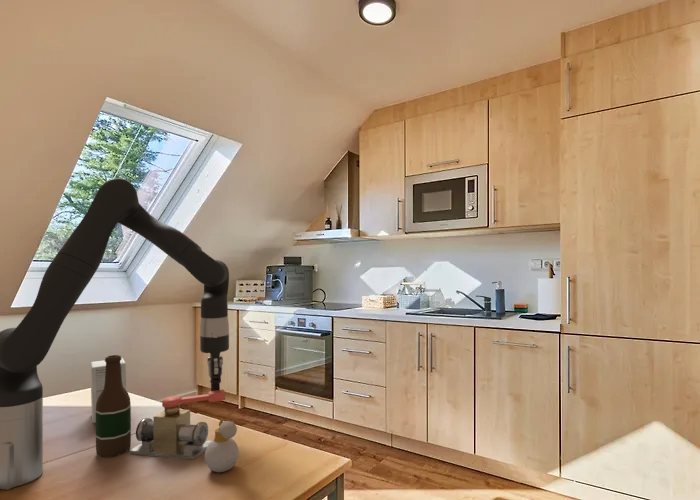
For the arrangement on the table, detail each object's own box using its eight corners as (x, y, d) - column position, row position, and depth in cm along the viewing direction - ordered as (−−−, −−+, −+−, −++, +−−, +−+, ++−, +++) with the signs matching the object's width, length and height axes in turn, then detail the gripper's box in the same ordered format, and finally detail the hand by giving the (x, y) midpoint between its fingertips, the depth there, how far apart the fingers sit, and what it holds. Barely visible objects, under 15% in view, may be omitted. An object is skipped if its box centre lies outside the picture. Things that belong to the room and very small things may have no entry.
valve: (194, 459, 104) (193, 413, 105) (129, 453, 108) (129, 409, 108) (213, 444, 113) (213, 401, 113) (153, 439, 117) (152, 398, 117)
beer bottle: (137, 446, 112) (137, 353, 113) (114, 459, 105) (113, 360, 106) (113, 443, 115) (112, 352, 115) (88, 456, 107) (87, 358, 108)
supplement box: (124, 408, 142) (124, 357, 143) (127, 417, 134) (127, 362, 135) (90, 414, 137) (90, 361, 138) (91, 423, 129) (91, 366, 130)
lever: (162, 409, 108) (162, 401, 108) (162, 404, 112) (162, 396, 112) (225, 400, 114) (225, 393, 114) (223, 396, 118) (223, 388, 118)
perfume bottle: (222, 459, 104) (222, 408, 105) (253, 468, 99) (252, 415, 100) (197, 472, 98) (196, 418, 98) (228, 483, 93) (227, 426, 93)
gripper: (199, 330, 123) (200, 391, 123) (200, 338, 111) (201, 406, 111) (226, 328, 126) (227, 388, 126) (230, 336, 114) (231, 402, 113)
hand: (215, 396), depth 118 cm, fingers closed
